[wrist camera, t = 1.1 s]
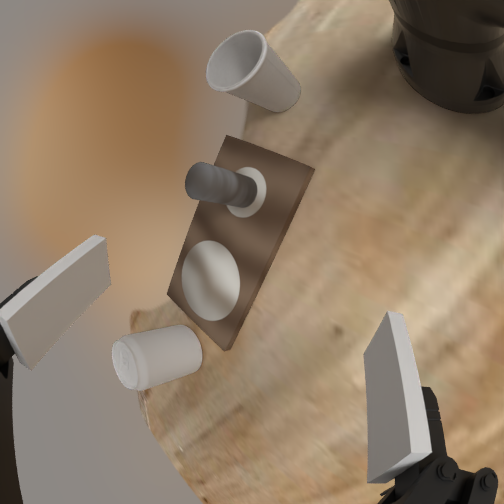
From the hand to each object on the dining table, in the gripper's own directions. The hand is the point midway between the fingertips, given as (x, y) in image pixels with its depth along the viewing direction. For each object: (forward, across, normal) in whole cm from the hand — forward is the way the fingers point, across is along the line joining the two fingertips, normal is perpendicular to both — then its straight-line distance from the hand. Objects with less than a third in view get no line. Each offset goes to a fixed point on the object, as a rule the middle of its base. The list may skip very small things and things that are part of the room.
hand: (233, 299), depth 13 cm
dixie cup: (+31, -3, +9) cm, 32 cm away
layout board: (+24, -6, -11) cm, 27 cm away
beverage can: (+20, -9, -29) cm, 36 cm away
